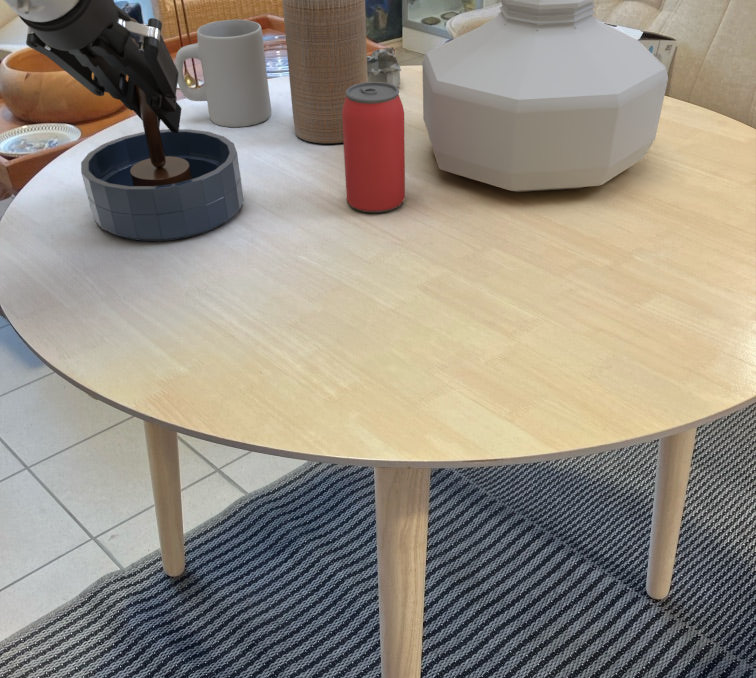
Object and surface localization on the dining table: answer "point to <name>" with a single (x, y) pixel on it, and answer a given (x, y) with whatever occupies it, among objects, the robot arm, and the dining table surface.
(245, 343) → the dining table surface
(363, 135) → the beer can
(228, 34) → the mug
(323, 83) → the vase
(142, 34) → the robot arm
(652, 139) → the pot
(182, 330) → the dining table surface
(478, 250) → the dining table surface
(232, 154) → the bowl
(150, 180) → the brown handled stamp
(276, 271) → the dining table surface
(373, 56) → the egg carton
